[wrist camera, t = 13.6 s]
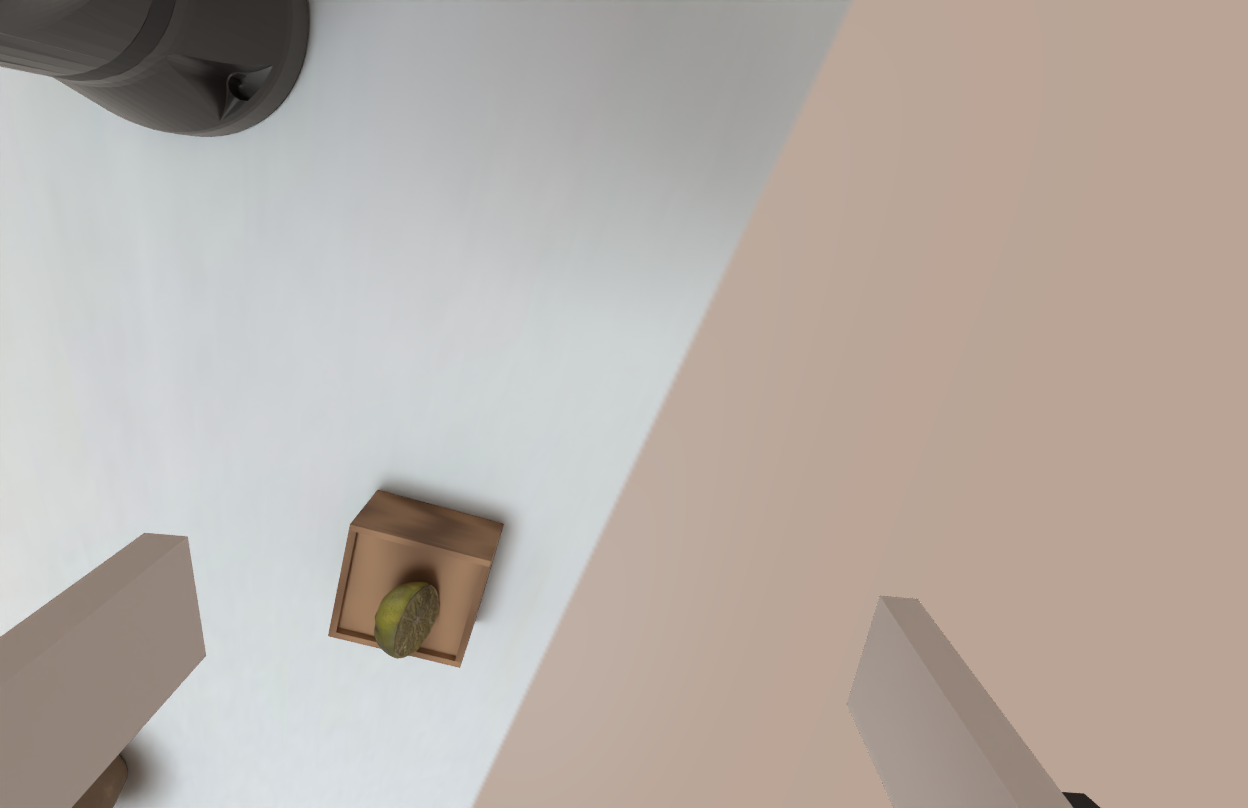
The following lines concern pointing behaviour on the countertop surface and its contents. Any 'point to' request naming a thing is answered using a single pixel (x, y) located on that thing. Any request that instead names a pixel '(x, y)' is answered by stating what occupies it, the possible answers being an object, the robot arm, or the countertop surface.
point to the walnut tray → (415, 570)
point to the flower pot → (105, 787)
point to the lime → (406, 618)
